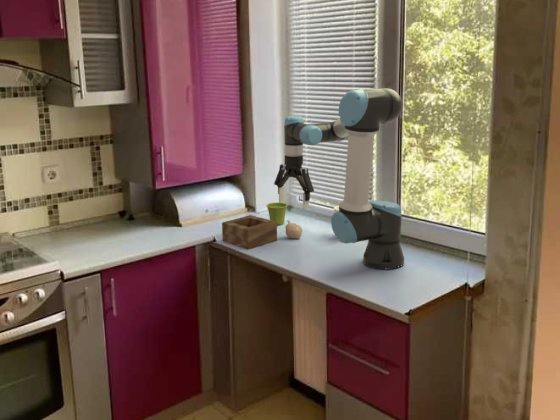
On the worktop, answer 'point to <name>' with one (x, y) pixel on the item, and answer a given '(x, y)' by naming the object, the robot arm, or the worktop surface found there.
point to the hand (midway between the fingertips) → (293, 205)
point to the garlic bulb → (293, 230)
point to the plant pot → (277, 212)
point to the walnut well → (249, 231)
